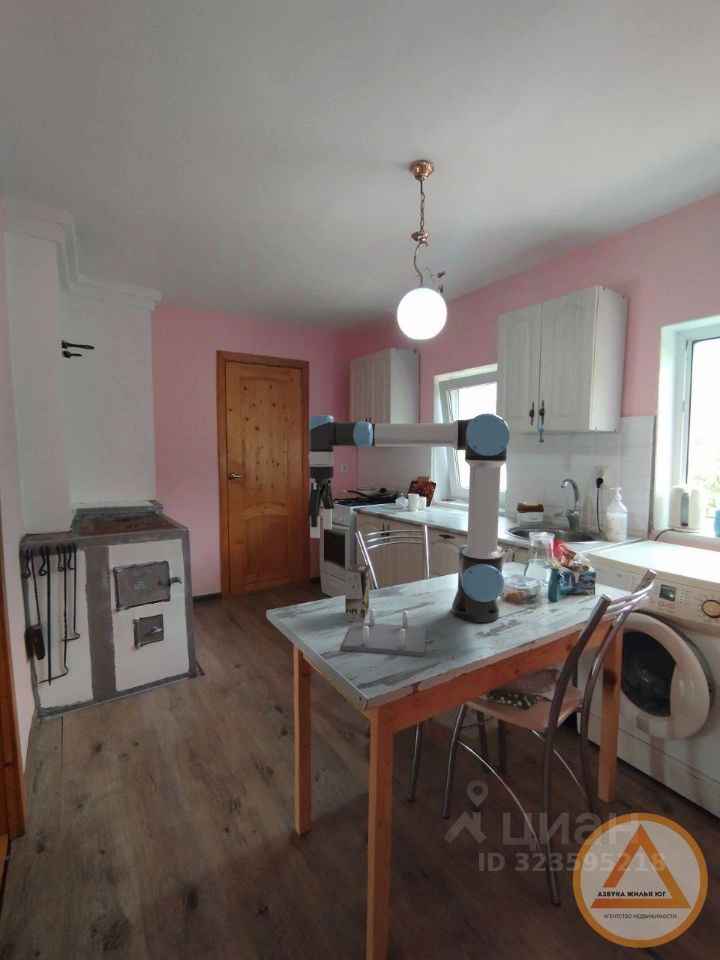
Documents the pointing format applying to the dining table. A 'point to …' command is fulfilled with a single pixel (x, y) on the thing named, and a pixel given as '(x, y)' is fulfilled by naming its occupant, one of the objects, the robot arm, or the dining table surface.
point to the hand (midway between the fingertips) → (321, 533)
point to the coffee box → (357, 593)
